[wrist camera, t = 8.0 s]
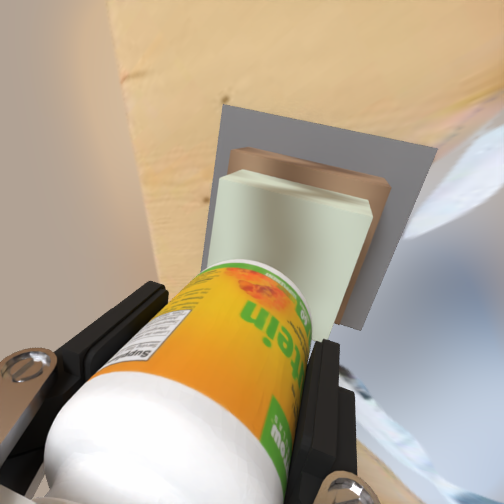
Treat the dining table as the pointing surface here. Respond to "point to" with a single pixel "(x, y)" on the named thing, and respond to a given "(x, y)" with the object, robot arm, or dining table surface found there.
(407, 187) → the baseplate
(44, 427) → the robot arm
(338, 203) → the two-tone block stack
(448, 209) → the dining table surface
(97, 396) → the supplement bottle
